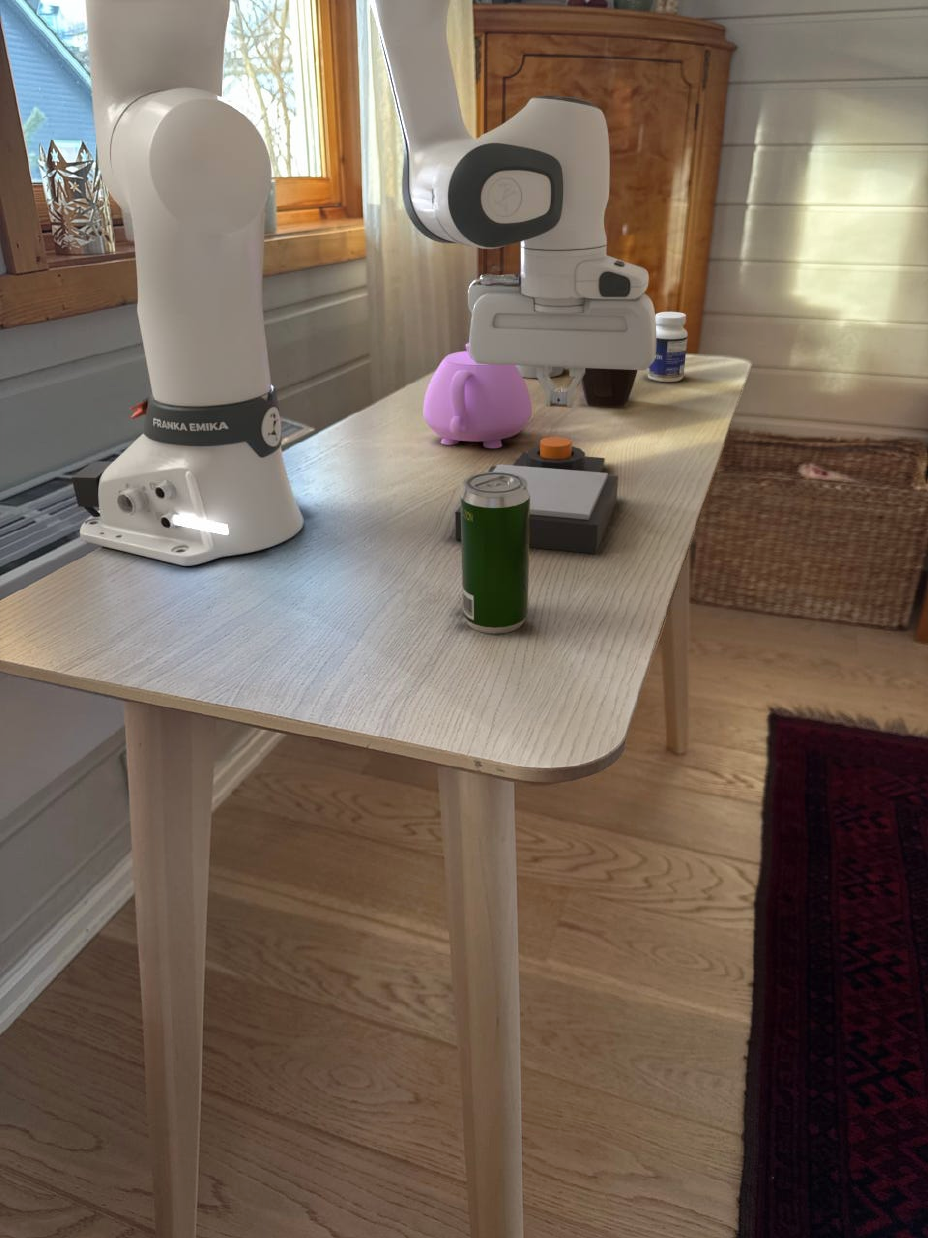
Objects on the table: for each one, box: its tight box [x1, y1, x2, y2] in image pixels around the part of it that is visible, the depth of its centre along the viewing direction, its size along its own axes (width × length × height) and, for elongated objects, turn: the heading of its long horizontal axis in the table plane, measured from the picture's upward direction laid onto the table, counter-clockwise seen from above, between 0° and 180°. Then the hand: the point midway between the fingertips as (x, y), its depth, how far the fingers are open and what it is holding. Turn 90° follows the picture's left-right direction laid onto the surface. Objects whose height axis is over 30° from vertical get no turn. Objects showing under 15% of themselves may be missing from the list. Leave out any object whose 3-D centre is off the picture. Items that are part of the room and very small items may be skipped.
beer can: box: [459, 471, 530, 635], centre depth 72 cm, size 5×5×12 cm
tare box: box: [512, 445, 606, 473], centre depth 104 cm, size 10×10×3 cm
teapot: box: [422, 342, 533, 449], centre depth 116 cm, size 20×14×12 cm
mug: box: [580, 368, 639, 408], centre depth 128 cm, size 10×14×12 cm
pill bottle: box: [647, 311, 688, 383], centre depth 142 cm, size 6×6×10 cm
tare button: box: [539, 436, 573, 459], centre depth 103 cm, size 4×4×2 cm
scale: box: [454, 463, 619, 555], centre depth 92 cm, size 14×14×4 cm
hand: (559, 405), depth 100 cm, fingers closed
